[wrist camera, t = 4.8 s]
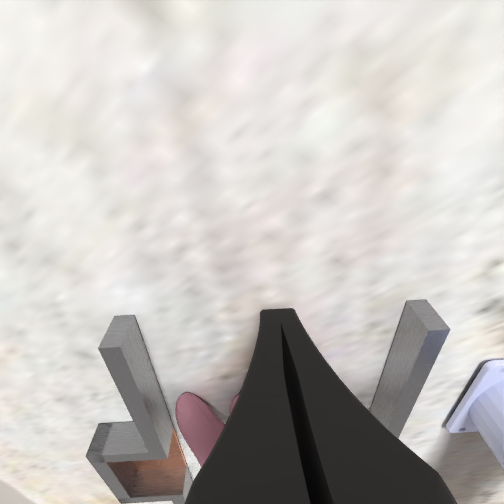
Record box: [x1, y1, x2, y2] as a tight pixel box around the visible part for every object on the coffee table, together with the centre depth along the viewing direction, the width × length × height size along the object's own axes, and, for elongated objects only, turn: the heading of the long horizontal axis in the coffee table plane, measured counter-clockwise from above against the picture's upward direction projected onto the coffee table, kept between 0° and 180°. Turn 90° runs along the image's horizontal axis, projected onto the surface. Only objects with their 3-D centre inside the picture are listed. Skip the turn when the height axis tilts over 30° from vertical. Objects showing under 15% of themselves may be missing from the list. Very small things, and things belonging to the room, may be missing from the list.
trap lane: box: [86, 300, 450, 504], centre depth 21 cm, size 24×28×3 cm
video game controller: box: [176, 392, 239, 467], centre depth 16 cm, size 10×5×7 cm, turn 133°
